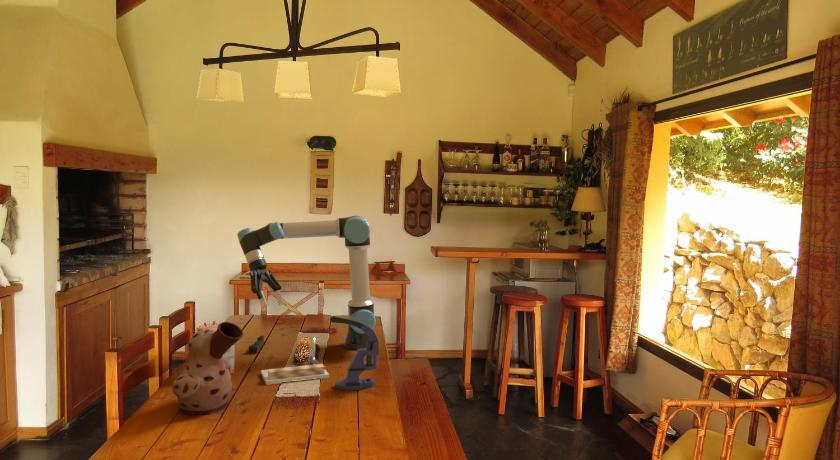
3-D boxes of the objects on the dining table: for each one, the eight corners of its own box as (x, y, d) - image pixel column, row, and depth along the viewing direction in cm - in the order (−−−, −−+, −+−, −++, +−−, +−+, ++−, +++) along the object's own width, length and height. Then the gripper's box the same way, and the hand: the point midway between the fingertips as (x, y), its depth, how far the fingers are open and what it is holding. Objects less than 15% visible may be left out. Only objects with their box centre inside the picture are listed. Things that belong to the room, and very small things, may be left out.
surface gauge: (317, 365, 245) (317, 335, 244) (322, 370, 237) (322, 340, 236) (303, 366, 242) (303, 336, 241) (307, 372, 235) (308, 341, 234)
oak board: (322, 370, 237) (322, 363, 237) (324, 373, 233) (324, 366, 233) (268, 376, 228) (268, 369, 228) (269, 379, 224) (269, 372, 224)
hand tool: (256, 354, 263) (256, 344, 263) (248, 354, 263) (248, 344, 263) (268, 344, 282) (268, 334, 282) (260, 343, 282) (260, 334, 282)
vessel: (196, 391, 214) (196, 312, 212) (255, 393, 214) (255, 314, 212) (159, 422, 186) (158, 331, 183) (226, 424, 185) (226, 333, 183)
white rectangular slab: (320, 367, 246) (320, 364, 246) (329, 378, 233) (329, 374, 233) (260, 373, 236) (261, 370, 236) (266, 385, 223) (266, 381, 223)
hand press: (375, 381, 230) (377, 313, 228) (379, 388, 222) (380, 317, 220) (328, 383, 226) (329, 314, 224) (330, 391, 217) (331, 319, 215)
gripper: (265, 265, 267) (281, 307, 262) (232, 264, 243) (249, 310, 239) (278, 258, 265) (294, 300, 261) (246, 256, 241) (264, 302, 237)
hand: (273, 305), depth 250 cm, fingers open, 13 cm apart
